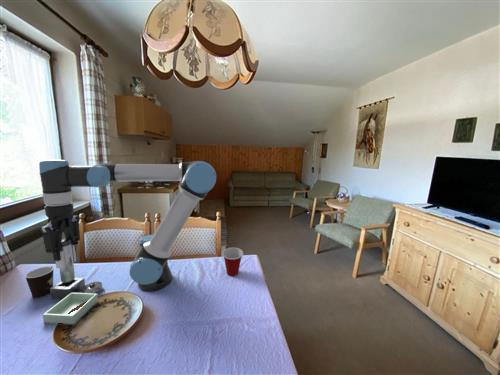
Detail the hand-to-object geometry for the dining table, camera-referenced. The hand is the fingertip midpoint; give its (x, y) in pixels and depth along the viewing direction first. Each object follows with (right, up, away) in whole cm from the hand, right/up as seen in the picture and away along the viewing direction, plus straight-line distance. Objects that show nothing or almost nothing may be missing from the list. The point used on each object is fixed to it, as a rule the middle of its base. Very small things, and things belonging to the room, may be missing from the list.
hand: (66, 264), depth 78 cm
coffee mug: (-22, -17, +15) cm, 31 cm away
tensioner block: (-11, -18, +13) cm, 25 cm away
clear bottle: (0, -6, +1) cm, 6 cm away
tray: (-1, -20, +3) cm, 20 cm away
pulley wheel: (-2, -18, +15) cm, 23 cm away
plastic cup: (+59, -17, +32) cm, 70 cm away
